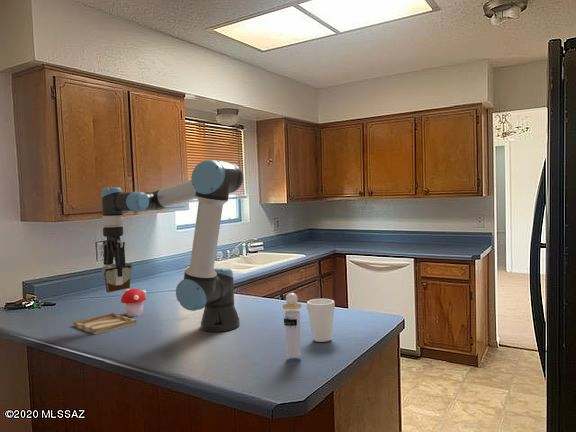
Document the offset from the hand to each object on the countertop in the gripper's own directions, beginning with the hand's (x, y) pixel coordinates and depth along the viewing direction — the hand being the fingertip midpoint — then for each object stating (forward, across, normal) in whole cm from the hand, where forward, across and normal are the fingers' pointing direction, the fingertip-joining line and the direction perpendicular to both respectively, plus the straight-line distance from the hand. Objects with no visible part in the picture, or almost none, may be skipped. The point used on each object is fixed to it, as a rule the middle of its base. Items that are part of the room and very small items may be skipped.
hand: (115, 283), depth 180 cm
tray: (+18, +8, +1) cm, 20 cm away
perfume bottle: (+16, -81, -16) cm, 84 cm away
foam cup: (+16, -77, -36) cm, 86 cm away
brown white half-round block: (+3, 0, 0) cm, 3 cm away
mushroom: (+18, +13, -15) cm, 27 cm away
